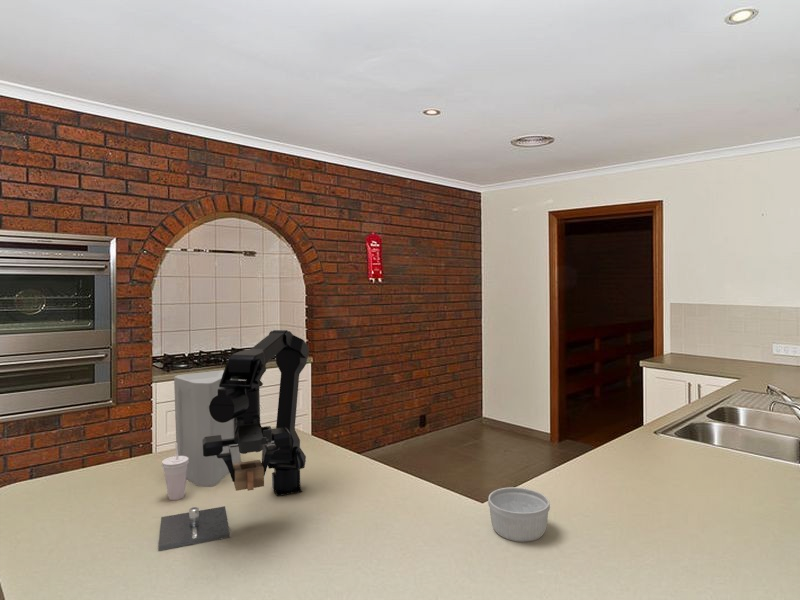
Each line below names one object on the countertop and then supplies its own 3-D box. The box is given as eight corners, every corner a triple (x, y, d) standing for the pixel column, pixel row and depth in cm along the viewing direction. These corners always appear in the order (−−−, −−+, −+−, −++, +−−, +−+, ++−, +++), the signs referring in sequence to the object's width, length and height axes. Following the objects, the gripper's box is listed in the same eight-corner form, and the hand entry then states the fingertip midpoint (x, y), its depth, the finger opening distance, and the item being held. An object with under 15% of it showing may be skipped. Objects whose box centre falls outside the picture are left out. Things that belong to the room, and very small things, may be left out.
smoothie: (180, 503, 129) (178, 448, 129) (157, 501, 131) (155, 446, 130) (195, 492, 136) (193, 439, 135) (173, 490, 137) (171, 438, 136)
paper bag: (194, 460, 160) (192, 369, 158) (241, 461, 159) (239, 370, 157) (161, 485, 141) (157, 382, 139) (214, 486, 140) (211, 383, 138)
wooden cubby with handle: (260, 476, 120) (260, 459, 120) (264, 487, 114) (264, 470, 114) (233, 480, 118) (232, 463, 118) (236, 492, 112) (235, 474, 111)
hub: (225, 510, 125) (224, 492, 125) (229, 537, 112) (229, 516, 112) (161, 521, 120) (160, 502, 120) (158, 550, 107) (157, 529, 107)
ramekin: (514, 551, 106) (514, 518, 105) (475, 524, 117) (475, 494, 117) (562, 536, 112) (562, 504, 111) (521, 511, 123) (521, 482, 123)
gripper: (203, 424, 105) (205, 500, 105) (295, 414, 112) (297, 485, 113) (201, 411, 115) (203, 480, 116) (286, 402, 122) (287, 467, 123)
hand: (248, 478), depth 116 cm, fingers closed on wooden cubby with handle, 6 cm apart
